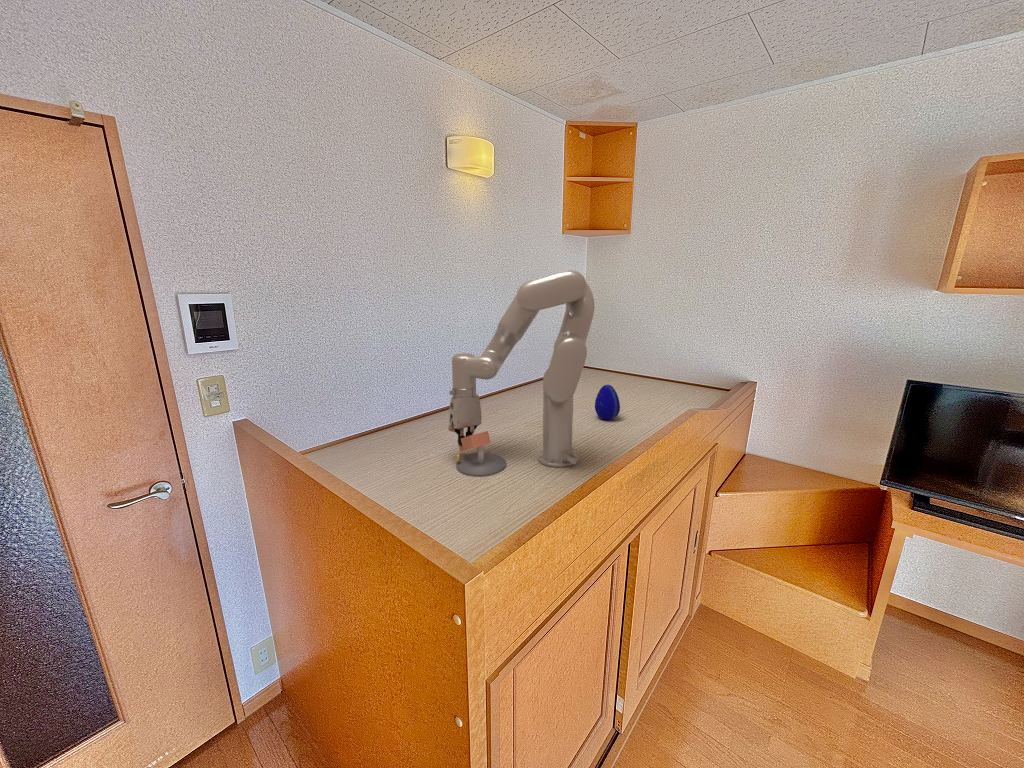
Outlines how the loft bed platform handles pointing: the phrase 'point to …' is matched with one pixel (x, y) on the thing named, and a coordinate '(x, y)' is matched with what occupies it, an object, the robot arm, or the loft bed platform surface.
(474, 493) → the loft bed platform surface
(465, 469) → the post base
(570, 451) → the robot arm
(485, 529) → the loft bed platform surface
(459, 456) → the dowel pin
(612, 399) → the ornament
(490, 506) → the loft bed platform surface
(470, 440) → the orange square loop
